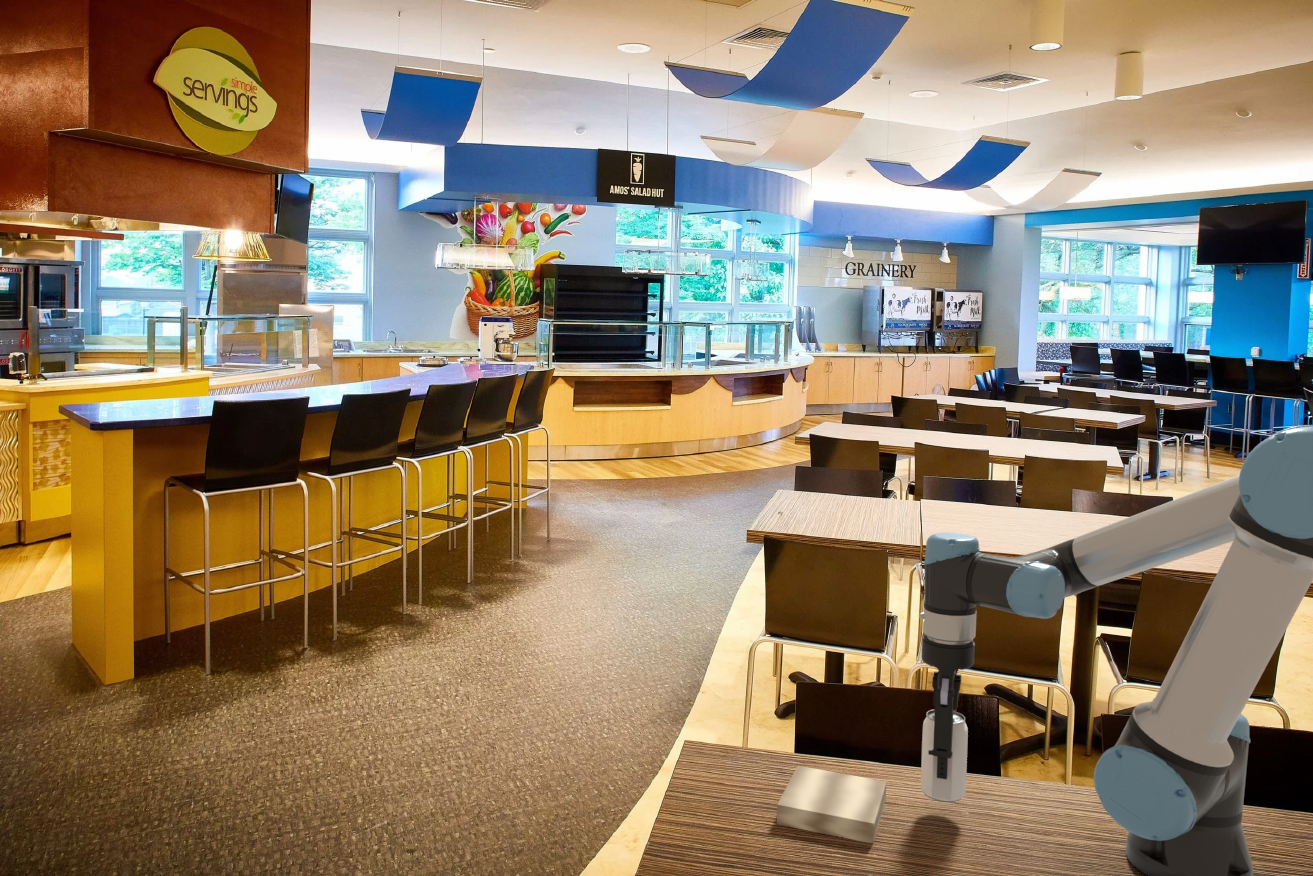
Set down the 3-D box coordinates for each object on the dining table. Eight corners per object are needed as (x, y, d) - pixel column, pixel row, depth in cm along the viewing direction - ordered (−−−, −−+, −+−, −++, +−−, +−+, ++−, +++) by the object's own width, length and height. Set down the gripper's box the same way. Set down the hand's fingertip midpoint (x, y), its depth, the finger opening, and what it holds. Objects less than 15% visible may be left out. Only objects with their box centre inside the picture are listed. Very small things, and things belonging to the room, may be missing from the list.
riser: (885, 800, 146) (886, 781, 146) (873, 843, 133) (874, 823, 133) (796, 783, 151) (797, 765, 151) (776, 824, 138) (777, 804, 138)
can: (971, 803, 138) (974, 724, 137) (927, 803, 139) (929, 724, 138) (957, 784, 145) (960, 708, 144) (915, 783, 145) (918, 707, 144)
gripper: (927, 618, 150) (922, 758, 152) (916, 653, 132) (911, 811, 134) (977, 623, 147) (971, 765, 149) (972, 659, 129) (966, 820, 131)
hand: (943, 786), depth 142 cm, fingers closed on can, 6 cm apart
